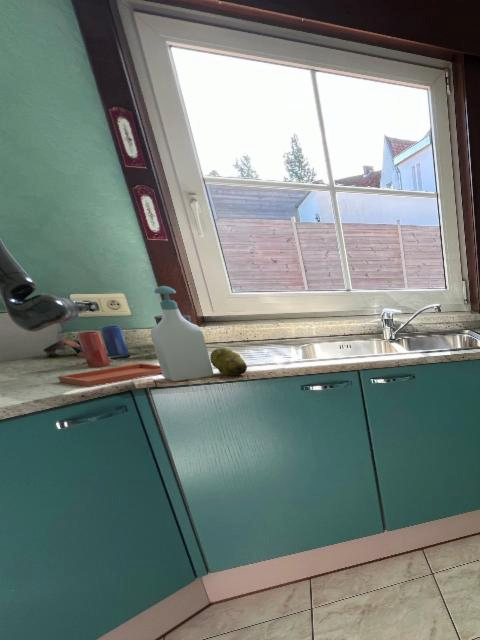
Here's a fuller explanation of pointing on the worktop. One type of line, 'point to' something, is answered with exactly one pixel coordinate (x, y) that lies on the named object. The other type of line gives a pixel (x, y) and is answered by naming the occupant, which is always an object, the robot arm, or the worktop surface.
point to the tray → (111, 374)
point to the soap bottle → (179, 343)
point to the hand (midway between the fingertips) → (70, 306)
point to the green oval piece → (228, 362)
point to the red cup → (93, 349)
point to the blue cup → (114, 341)
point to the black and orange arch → (60, 346)
